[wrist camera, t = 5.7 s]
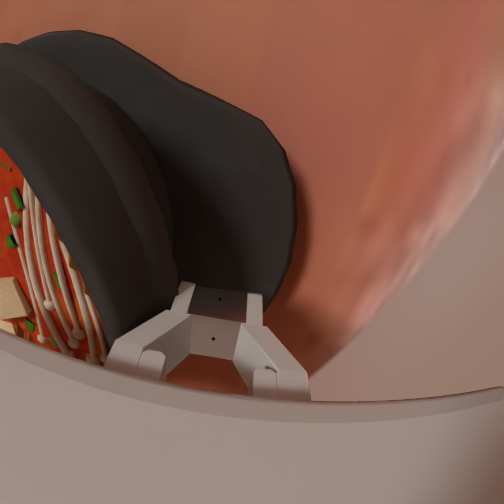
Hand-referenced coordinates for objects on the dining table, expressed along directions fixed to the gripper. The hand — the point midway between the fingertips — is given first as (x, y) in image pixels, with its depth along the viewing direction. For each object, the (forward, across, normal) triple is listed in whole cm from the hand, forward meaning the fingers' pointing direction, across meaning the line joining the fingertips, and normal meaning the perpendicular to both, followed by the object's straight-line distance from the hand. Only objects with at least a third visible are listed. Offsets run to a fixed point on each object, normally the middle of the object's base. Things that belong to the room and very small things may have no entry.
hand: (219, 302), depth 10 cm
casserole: (+5, +10, 0) cm, 11 cm away
